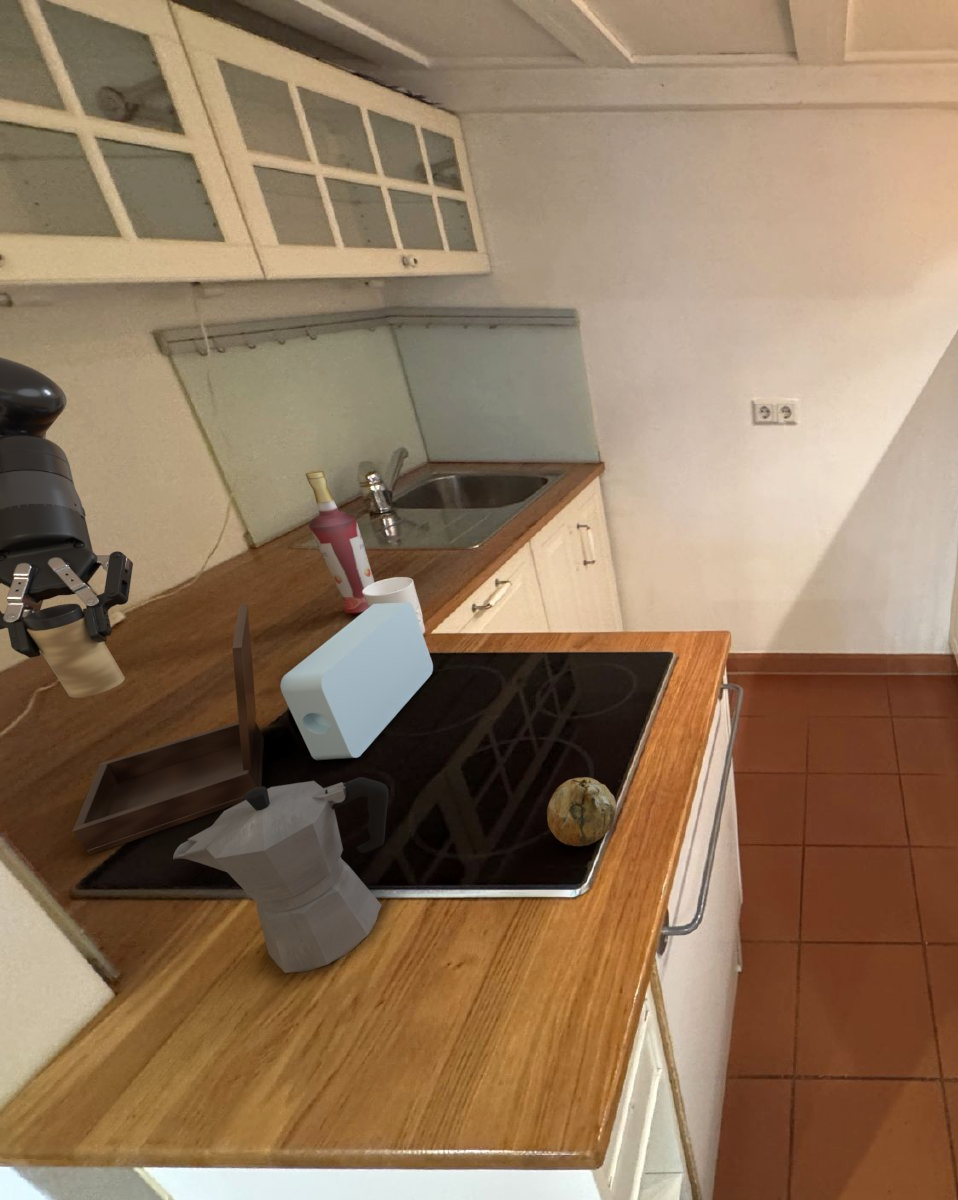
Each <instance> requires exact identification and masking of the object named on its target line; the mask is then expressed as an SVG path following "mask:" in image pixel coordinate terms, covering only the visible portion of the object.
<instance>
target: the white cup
mask: <svg viewBox="0 0 958 1200" xmlns="http://www.w3.org/2000/svg"><path fill="white" fill-rule="evenodd" d="M362 593H363V596H364V598H365V600H366V603H367V605H368V607H370V606H372V605H373V604H384V603H402V602H409V603H411V604H412V605H413V607H414V610H415V613H416V616H417V619H418V622H419V625H420V628H421V631H422V634H423V635H424V633H425V632H426V625H425V623H424V618H423V617H424V616H423V613H422V607H421V603H420V600H419V596H418V593H417V591H416V585H415V583H414V579H413V578H410V577H408V576H407V577H406V576H396V577H389V578H385V579H381V580H377V581H375V583H372V584H370V585H368V586H366V587H365V588H364V589H363V590H362Z"/></svg>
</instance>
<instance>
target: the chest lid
mask: <svg viewBox="0 0 958 1200" xmlns="http://www.w3.org/2000/svg"><path fill="white" fill-rule="evenodd" d="M235 624H236V625H235V630H234V635H233V642H232V646H231V648H232V661H233V673H234V674H233V675H234V684H235V695H236V696H235V697H236V706H237V707H236V708H237V718H238V722H239V731H240V742H241V754H242V765H243V770H248V769H251V768H252V757H253V745H254V734H255V722H256V723H257V720H256V719H257V708H256V705H257V704H256V696H255V695H256V693H255V682H254V669H253V655H252V643H251V629H250V617H249V605H248V604H239V607H238V612H237V619H236V623H235Z"/></svg>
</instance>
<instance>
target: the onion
mask: <svg viewBox="0 0 958 1200" xmlns="http://www.w3.org/2000/svg"><path fill="white" fill-rule="evenodd" d="M617 809H618V807H617V800H616V798H615V796H614V794H613V793H612V792H611V791H610V789H609V788H608V787H607V786H606V784H604V783H601V782H600V781H598V780H597V779H594V777H593V778H592V777H588V776H584V777H583V776H582V777H574V778H570V779H568V780H566V781H564V782H563V783H561V784H560V785H559V786H558V787H557V788H556V789H555V791H554V792H553V794H552V795H551V797H550V799H549V801H548V804H547V809H546V815H547V817H546V818H547V819H546V821H547V826H548V828H549V830H550V832H551V833H552V835H553V836H554V837H555V838H556V839H557V840H558V841H559V842H560V843H562V844H564V845H567V846H573V847H585V846H590V845H592V844H594V843H596V842H597V841H599V840H601V839H602V838H603V837H604V836H605V835H606V834H607V833H608V832H609V831H610V830H611V829H612V827H613V825H614V823H615V820H616V816H617Z"/></svg>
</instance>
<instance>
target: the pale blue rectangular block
mask: <svg viewBox="0 0 958 1200" xmlns="http://www.w3.org/2000/svg"><path fill="white" fill-rule="evenodd" d="M433 671H434V664H433V660H432V657H431V655H430V652H429V649H428V646H427V643H426V640H425V636H424V633H423V634H422V631H421V628H420V625H419V622H418V619H417V616H416V613H415V610H414V607H413V605H412V604H411V603H409V602H402V603H384V604H373V605H372V606H370V607H369V608H368V609H367V610H365V611H364V612H363V613H362V614H360V615H359V616H356V617H355V618H354V619H353V620H352V621H351V622H349V623H348V624H346V625H345V626H344V627H343V628H342V629H340V630H339V631H338V632H336V634H334V635H333V636H331V637H330V638H329V639H328V640H327V641H325V642H324V643H323V644H321V646H319V647H318V648H317V649H315V650H314V651H313V652H311V654H309V655H308V656H307V657H305V658H303V660H302V661H300V662H299V663H298V664H297V665H295V666H294V667H293V668H292V669H290V670H289V671H288V672H286V673H285V674H284V675H283V677H282V678H281V681H280V691H281V694H282V696H283V699H284V700H285V703H286V705H287V707H288V709H289V711H290V714H291V715H292V717H293V720H294V721H295V724H296V726H297V728H298V730H299V733H300V734H301V736H302V739H303V741H304V743H305V745H306V747H307V749H308V752H309V753H310V756H311V758H312V759H313V760H316V761H324V760H341V759H354V758H355V759H357V758H359V757H361V756H362V754H363V753H364V752H365V751H366V750H367V749H368V748H369V747H370V746H371V744H372V743H373V742H374V741H375V740H376V739H377V738H378V736H379V735H380V734H381V733H382V732H383V731H384V729H385V728H386V727H387V726H388V725H389V724H390V723H391V722H392V721H393V719H394V718H395V717H396V716H397V714H398V713H399V712H400V711H401V710H402V709H403V708H404V707H405V706H406V704H408V702H409V701H410V700H411V699H412V697H413V696H414V695H415V694H416V693H417V692H418V691H419V690H420V688H422V686H423V685H424V684H425V683H426V681H427V680H428V679H430V677H431V675H432V674H433Z"/></svg>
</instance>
